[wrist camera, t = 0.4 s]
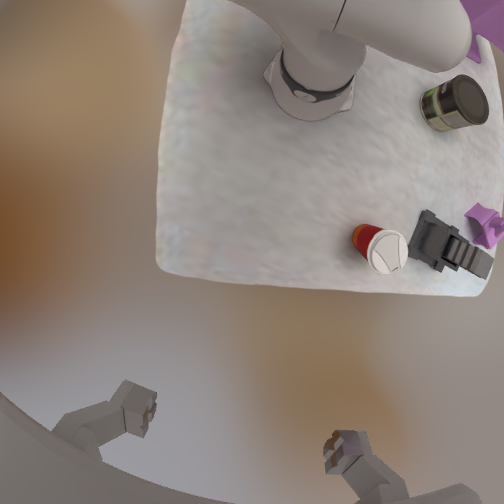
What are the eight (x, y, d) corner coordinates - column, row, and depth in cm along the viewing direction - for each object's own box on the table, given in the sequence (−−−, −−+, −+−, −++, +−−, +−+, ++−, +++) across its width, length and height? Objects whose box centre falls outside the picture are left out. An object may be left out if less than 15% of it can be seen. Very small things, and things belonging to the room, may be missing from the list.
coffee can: (411, 101, 45) (444, 85, 31) (435, 84, 43) (468, 67, 29) (437, 140, 46) (474, 133, 33) (459, 120, 44) (495, 112, 31)
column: (432, 229, 49) (483, 249, 32) (444, 237, 49) (495, 258, 32) (424, 247, 50) (473, 273, 33) (437, 254, 51) (485, 281, 33)
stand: (421, 208, 51) (447, 214, 41) (452, 227, 51) (478, 237, 41) (403, 252, 53) (426, 266, 43) (435, 269, 54) (458, 284, 44)
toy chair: (471, 246, 52) (508, 263, 37) (461, 217, 50) (501, 228, 36) (489, 229, 50) (526, 242, 35) (480, 200, 48) (519, 208, 34)
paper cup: (385, 245, 53) (415, 264, 40) (354, 261, 55) (377, 285, 41) (373, 212, 52) (402, 222, 38) (341, 227, 53) (362, 242, 40)
